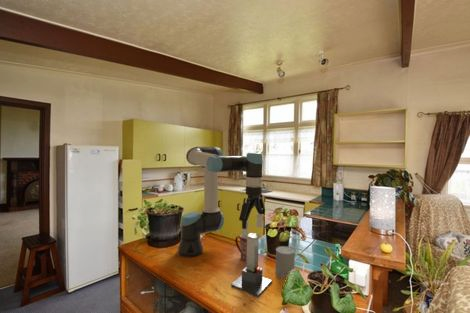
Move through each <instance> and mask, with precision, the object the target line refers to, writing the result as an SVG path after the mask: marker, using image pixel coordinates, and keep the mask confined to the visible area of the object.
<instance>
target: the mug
mask: <svg viewBox="0 0 470 313" xmlns="http://www.w3.org/2000/svg"><path fill="white" fill-rule="evenodd" d="M250 233H251V232H250ZM250 233H249V232H248V234H250ZM238 239H239V240H240V241H239V242H240V244H239V242H238ZM234 241H235V246H236V248H237V250H238V252H239V253H240V260H241V261H243V262H247V238H246V236H244V235H242V233H241V234H240V235H237V236H236V237H235V240H234Z"/></svg>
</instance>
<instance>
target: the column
mask: <svg viewBox="0 0 470 313" xmlns="http://www.w3.org/2000/svg"><path fill="white" fill-rule="evenodd" d="M246 238H247V261H246V266H245V268H246V270H249V271H252V272H255V271H256V268H257V267H259V247H260V246H259V243H260V242H259V241H260V240H259V239H260V238H261V234H258V233H254V232H250V234H248V236H246Z"/></svg>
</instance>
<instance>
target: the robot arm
mask: <svg viewBox="0 0 470 313" xmlns="http://www.w3.org/2000/svg"><path fill="white" fill-rule="evenodd" d="M185 155H186V156H185V158H186V161H187V162H188V163H189V164H190V165H192V166H201V169H202V170H203V171H204V172H203V173H204V174H203V180H204V185H203V187H204V190H203V192H204V205H203V206H204V207H203V209H202V211H201V213H200V212H198V211H191V212H187V213H185V214H183V215H182V216H181V219H180V241H179V244H178V245H179V246H178V248H177V254H178V255H179V256H180V257H183V258H193V257H194V258H195V257H197V256H200V255H202V253H203V251H204V246H203V244H202V241H201V234H206V233H211V232H213V233H214V232H217V231H221V229H222V228H223V226H224V223H225V217H224V214H223V212H222V211H221V209H220V208H219V192H218V190H219V187H218V183H219V181H218V177H219V176H218V174H219V173H226V172H244V173H245V194H246V196H247V198H245V197H244V198H243V202H242V207H241V211H240V215H239V218H238V220H239V221H241V234H242V235H244V236H248V233H249V221H248V219H249V217H250V214H251V212H252V209H254V207H255V209H256V211H257V213H256V228H259V229H261V228H262V229H263V218H264V217H263V215H265V212H266V209H265V204H264V200H263V199H264V198H263V197H264V196H263V194H262V193H263V192H262V191H263V187H262V186H263V164H264V160H263V154H262V153H261V152H247V153H246V155H245V156H244V155H224V154H223V152H222V149H221V148H220V147H216V146H193V147H191V148H189V149H188V150H187V152H186V154H185Z"/></svg>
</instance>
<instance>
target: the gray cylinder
mask: <svg viewBox="0 0 470 313" xmlns="http://www.w3.org/2000/svg"><path fill="white" fill-rule="evenodd" d="M295 252H296V250H295V249H294V248H292V247H291V246H286V245H281V246H280V245H279V246H277V247H276V248H275V273H274V274H275V275H276V276H277V277H278V276H279V277H278V278H280V277H281V279H284V278H285V280H287V279H286V277H287V275H288V273H289V271H291V270H292V269H294V270H295V257H296V256H295V254H296V253H295Z"/></svg>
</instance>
